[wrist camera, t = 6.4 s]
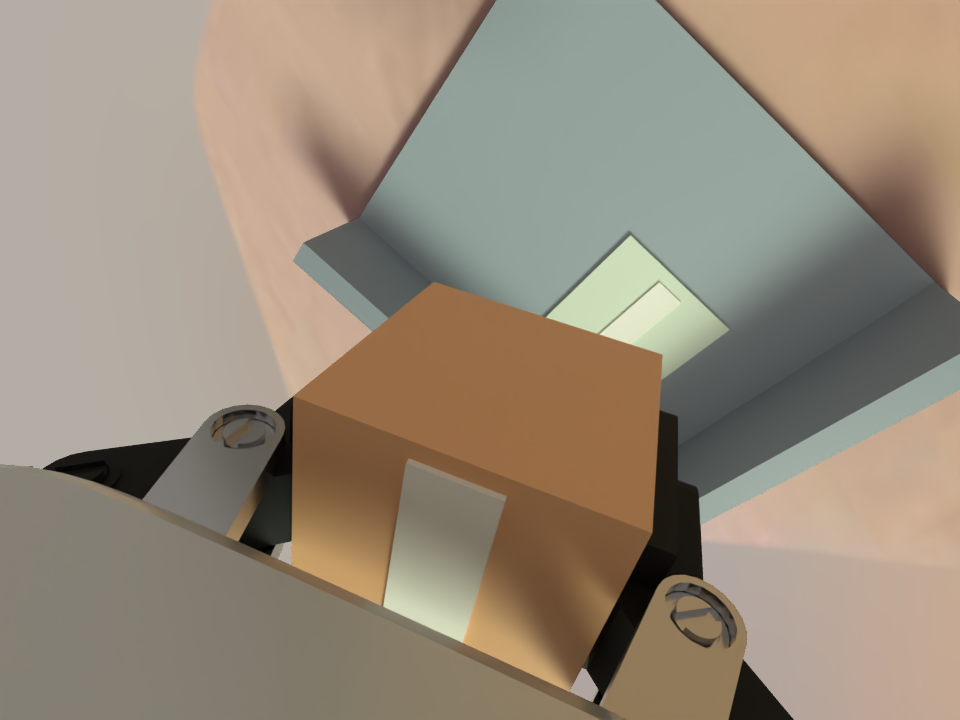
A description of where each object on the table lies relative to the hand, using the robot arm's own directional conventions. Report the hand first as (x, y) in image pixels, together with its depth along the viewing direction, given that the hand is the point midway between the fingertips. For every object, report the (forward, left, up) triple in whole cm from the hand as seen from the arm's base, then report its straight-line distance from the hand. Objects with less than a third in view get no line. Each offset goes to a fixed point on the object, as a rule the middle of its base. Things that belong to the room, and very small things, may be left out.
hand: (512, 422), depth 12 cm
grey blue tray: (+1, 0, -16) cm, 16 cm away
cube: (0, 0, 0) cm, 0 cm away
